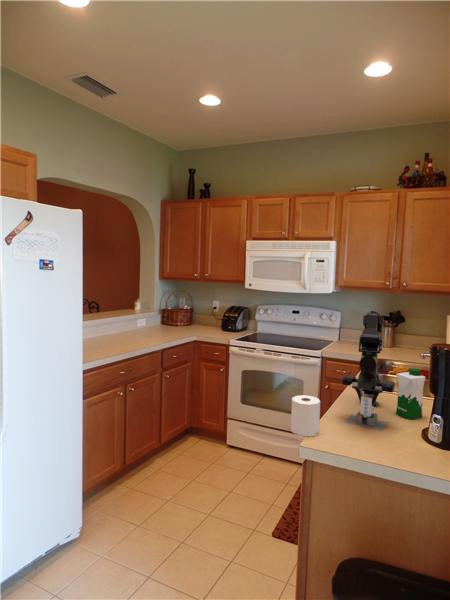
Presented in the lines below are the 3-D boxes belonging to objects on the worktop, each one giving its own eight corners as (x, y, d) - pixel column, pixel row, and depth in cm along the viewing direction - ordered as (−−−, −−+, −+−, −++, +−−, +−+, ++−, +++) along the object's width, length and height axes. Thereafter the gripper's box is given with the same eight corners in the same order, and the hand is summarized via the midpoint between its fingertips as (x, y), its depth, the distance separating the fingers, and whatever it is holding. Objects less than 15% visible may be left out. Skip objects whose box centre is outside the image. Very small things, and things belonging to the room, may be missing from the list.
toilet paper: (323, 435, 145) (325, 403, 144) (297, 437, 143) (298, 404, 142) (312, 424, 155) (313, 394, 154) (286, 426, 153) (287, 395, 152)
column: (362, 412, 158) (363, 393, 158) (373, 414, 156) (374, 395, 156) (359, 416, 154) (360, 396, 154) (370, 418, 152) (371, 398, 152)
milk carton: (425, 420, 161) (428, 371, 160) (409, 423, 158) (411, 373, 156) (407, 412, 170) (410, 366, 168) (391, 415, 166) (394, 368, 164)
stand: (351, 416, 164) (351, 407, 164) (387, 424, 157) (388, 414, 156) (344, 424, 155) (345, 414, 155) (382, 433, 148) (383, 422, 148)
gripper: (338, 366, 152) (337, 406, 153) (391, 373, 142) (389, 416, 144) (346, 360, 161) (345, 398, 163) (396, 367, 152) (394, 407, 153)
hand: (367, 404), depth 155 cm, fingers closed on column, 4 cm apart
